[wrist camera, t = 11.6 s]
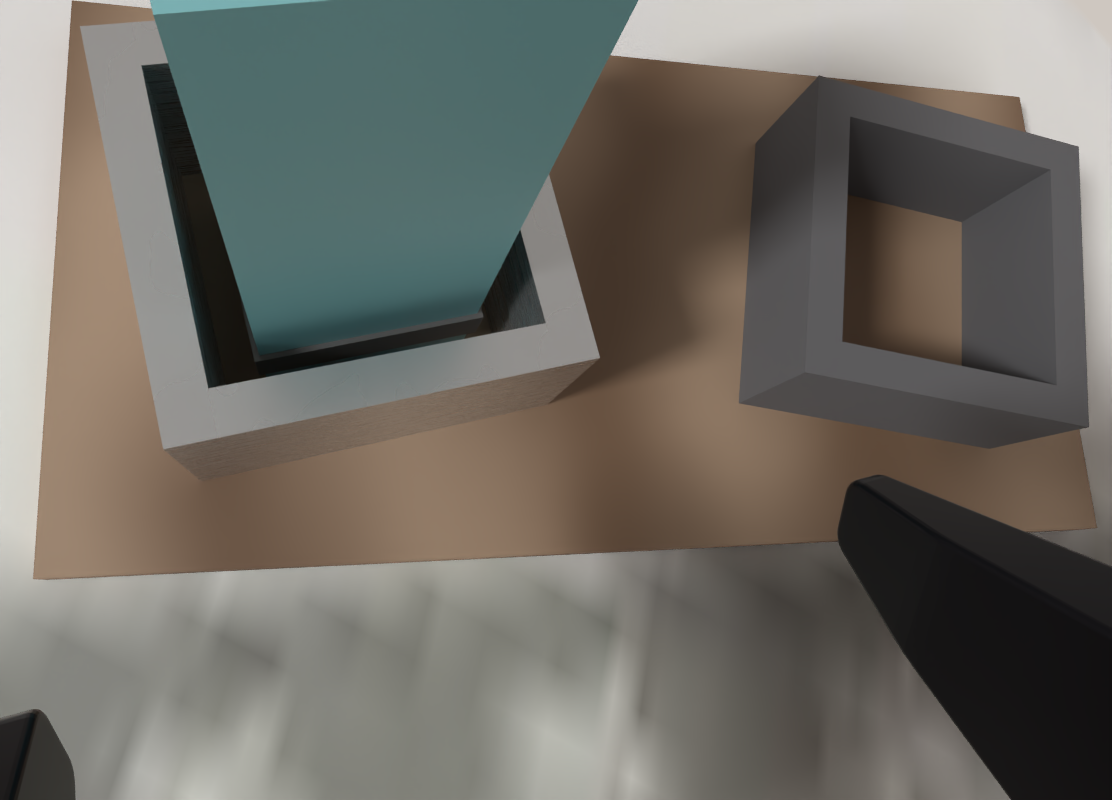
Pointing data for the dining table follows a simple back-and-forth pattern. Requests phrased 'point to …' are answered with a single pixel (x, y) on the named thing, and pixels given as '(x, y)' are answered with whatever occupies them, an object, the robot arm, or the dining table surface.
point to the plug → (376, 154)
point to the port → (324, 392)
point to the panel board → (573, 415)
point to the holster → (987, 270)
